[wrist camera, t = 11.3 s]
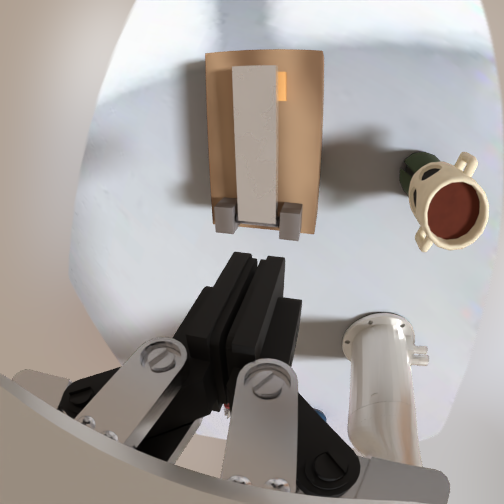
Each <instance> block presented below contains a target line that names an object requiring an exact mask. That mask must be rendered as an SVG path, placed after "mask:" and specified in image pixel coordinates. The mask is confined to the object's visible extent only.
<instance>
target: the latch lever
mask: <svg viewBox="0 0 504 504" xmlns="http://www.w3.org/2000/svg"><path fill="white" fill-rule="evenodd" d="M232 82H233V109H234V134H235V158H236V181H237V202H238V212H237V214H236V223H239V224H249V225H259V226H269V227H279V226H280V216H278V66H277V65H256V66H232Z"/></svg>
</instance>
